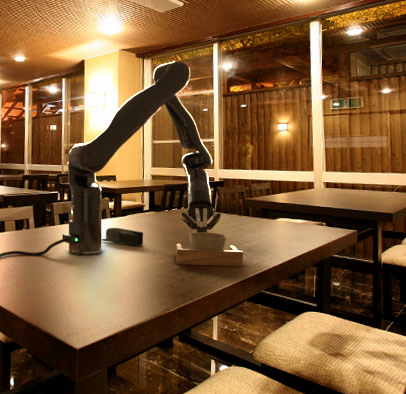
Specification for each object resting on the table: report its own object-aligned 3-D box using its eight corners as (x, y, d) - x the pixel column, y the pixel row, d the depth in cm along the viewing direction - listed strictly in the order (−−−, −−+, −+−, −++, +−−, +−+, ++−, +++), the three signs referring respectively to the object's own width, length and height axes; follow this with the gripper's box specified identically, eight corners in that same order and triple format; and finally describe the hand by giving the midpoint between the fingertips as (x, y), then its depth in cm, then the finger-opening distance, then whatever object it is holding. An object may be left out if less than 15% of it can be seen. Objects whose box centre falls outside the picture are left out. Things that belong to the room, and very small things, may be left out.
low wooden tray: (242, 266, 105) (243, 251, 105) (176, 264, 108) (176, 249, 107) (234, 257, 115) (235, 243, 115) (174, 255, 118) (174, 242, 117)
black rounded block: (144, 230, 132) (105, 225, 140) (140, 232, 129) (100, 227, 137) (143, 245, 132) (104, 239, 140) (139, 247, 130) (100, 241, 138)
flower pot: (227, 265, 106) (228, 239, 106) (189, 263, 108) (189, 237, 108) (223, 256, 116) (224, 232, 115) (188, 255, 118) (189, 231, 117)
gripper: (179, 188, 131) (181, 231, 120) (221, 189, 129) (226, 232, 118) (178, 202, 137) (180, 245, 126) (218, 203, 135) (223, 246, 124)
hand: (202, 239), depth 122 cm, fingers closed
